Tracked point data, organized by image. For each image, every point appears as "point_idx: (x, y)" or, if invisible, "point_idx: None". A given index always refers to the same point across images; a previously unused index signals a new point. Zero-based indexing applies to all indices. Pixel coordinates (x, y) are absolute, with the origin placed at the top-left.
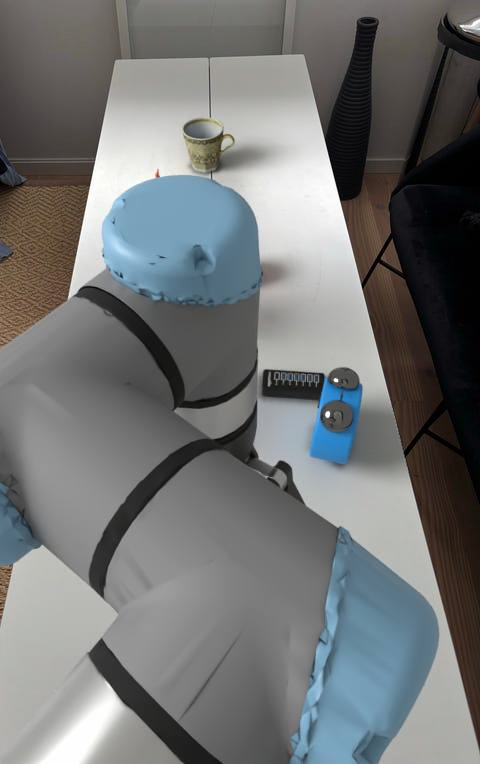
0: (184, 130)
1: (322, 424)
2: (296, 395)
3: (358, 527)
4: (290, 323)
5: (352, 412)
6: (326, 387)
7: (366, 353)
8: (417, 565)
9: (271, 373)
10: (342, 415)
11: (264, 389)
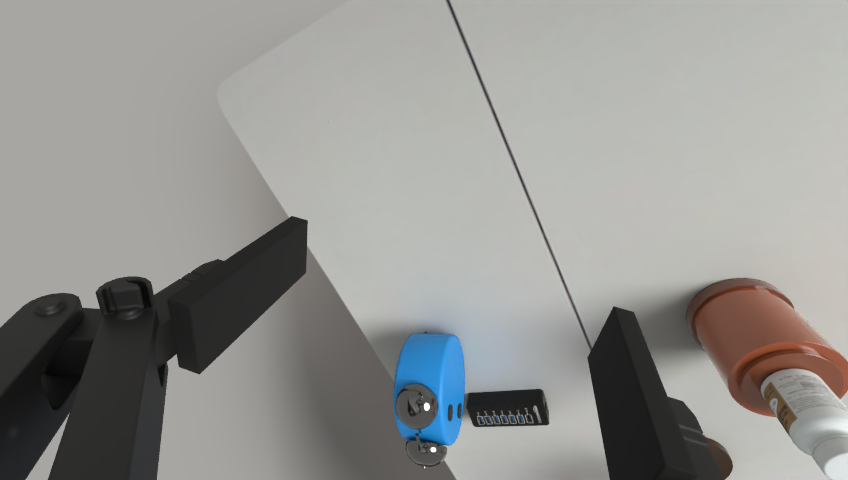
0: None
1: (430, 393)
2: (498, 396)
3: (381, 267)
4: (537, 474)
5: (397, 415)
6: (442, 438)
7: None
8: (315, 246)
9: (537, 421)
10: (405, 412)
11: (539, 401)
